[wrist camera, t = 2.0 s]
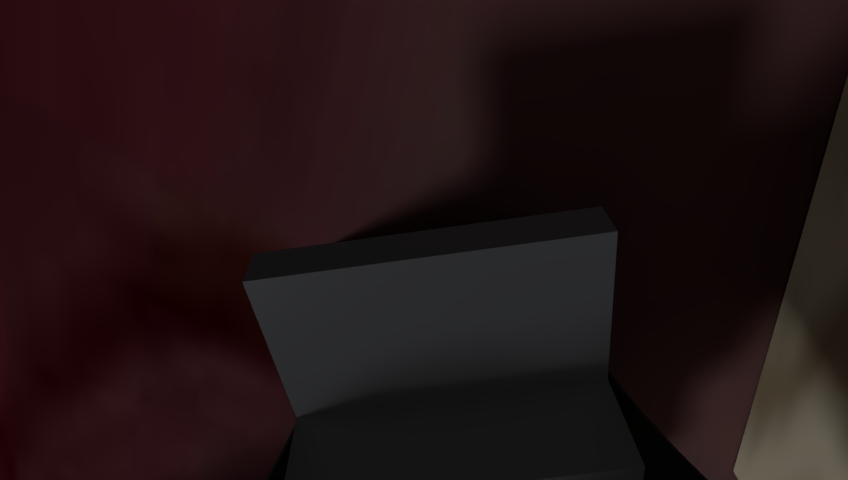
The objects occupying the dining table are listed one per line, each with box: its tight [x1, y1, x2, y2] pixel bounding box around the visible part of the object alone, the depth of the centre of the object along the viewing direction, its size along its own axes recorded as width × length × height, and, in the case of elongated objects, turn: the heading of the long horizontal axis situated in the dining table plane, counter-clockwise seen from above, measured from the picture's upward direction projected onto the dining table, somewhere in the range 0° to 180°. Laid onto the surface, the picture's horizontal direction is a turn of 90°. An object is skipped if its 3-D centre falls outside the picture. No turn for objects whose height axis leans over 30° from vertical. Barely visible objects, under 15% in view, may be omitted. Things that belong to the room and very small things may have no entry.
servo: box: [243, 206, 645, 480], centre depth 11 cm, size 12×4×7 cm, turn 8°
